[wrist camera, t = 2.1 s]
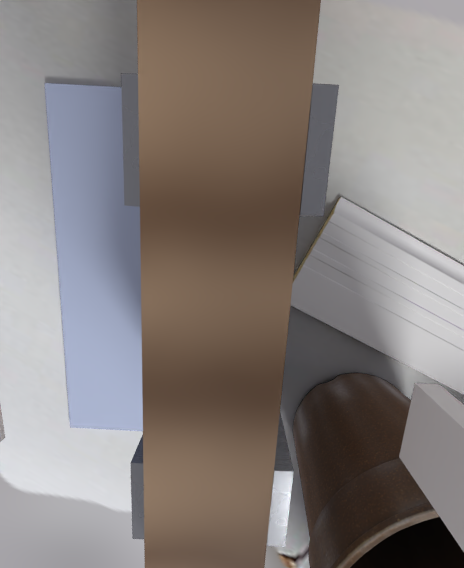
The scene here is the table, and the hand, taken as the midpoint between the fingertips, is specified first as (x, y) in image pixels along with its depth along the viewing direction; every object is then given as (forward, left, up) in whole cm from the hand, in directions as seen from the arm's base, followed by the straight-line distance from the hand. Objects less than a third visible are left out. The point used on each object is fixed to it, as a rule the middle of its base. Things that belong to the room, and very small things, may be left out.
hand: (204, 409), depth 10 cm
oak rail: (0, 0, -7) cm, 7 cm away
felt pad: (0, +10, -19) cm, 22 cm away
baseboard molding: (-2, -22, -20) cm, 30 cm away
